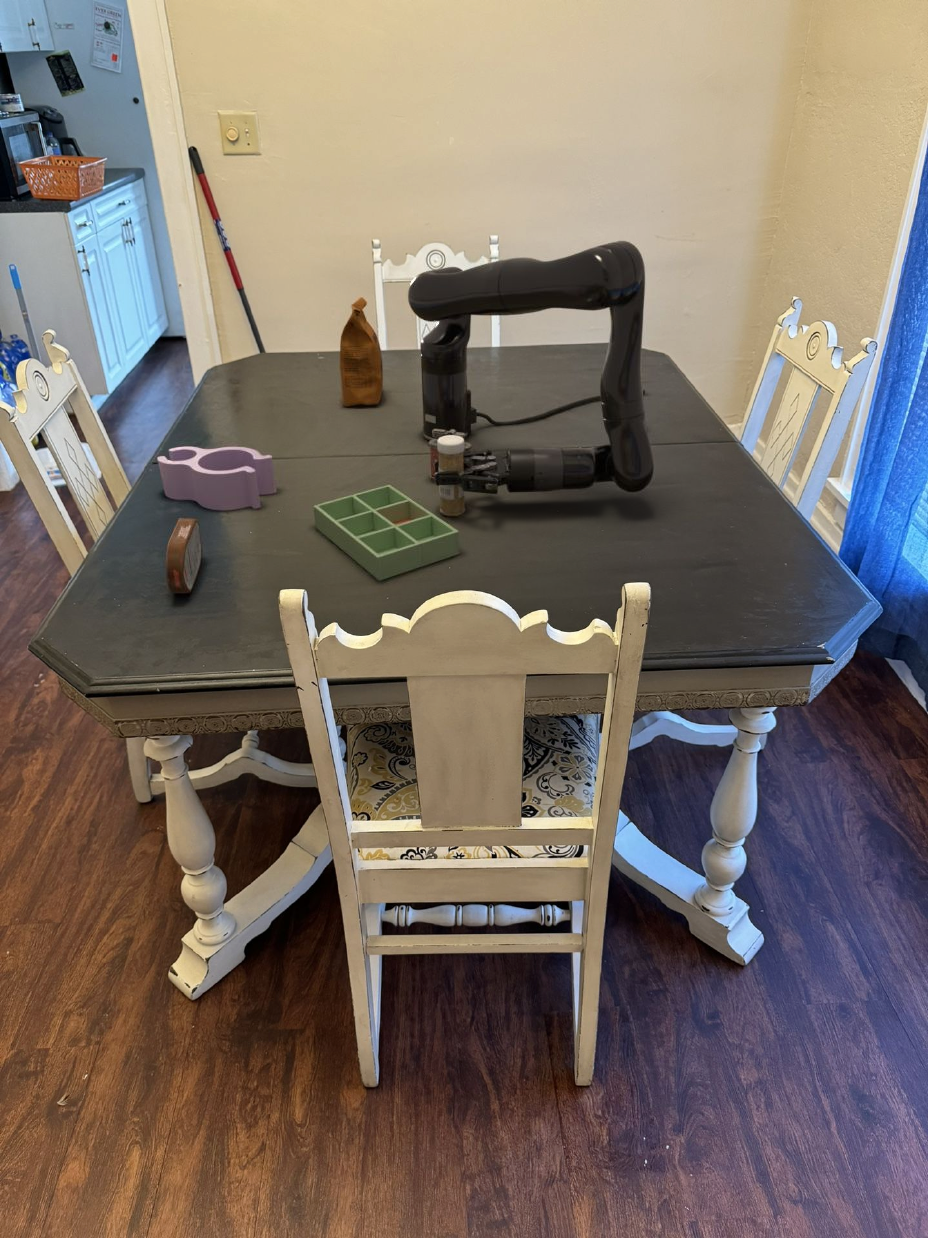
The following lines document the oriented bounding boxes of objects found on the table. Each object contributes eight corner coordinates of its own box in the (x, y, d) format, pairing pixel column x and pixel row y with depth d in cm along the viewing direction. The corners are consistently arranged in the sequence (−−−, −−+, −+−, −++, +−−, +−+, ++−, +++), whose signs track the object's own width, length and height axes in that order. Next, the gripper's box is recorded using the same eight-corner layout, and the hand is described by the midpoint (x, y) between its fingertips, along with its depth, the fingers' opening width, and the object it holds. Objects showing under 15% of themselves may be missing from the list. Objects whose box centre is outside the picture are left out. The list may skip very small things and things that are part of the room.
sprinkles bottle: (470, 513, 152) (469, 440, 145) (448, 519, 150) (446, 445, 143) (455, 503, 155) (454, 432, 148) (434, 510, 153) (431, 437, 146)
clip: (152, 502, 157) (144, 466, 153) (188, 474, 167) (181, 440, 163) (252, 514, 153) (246, 477, 149) (283, 485, 163) (278, 450, 159)
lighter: (473, 480, 164) (473, 429, 158) (467, 487, 161) (467, 436, 156) (433, 474, 166) (432, 424, 161) (427, 481, 164) (425, 431, 158)
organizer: (390, 505, 155) (389, 484, 153) (459, 553, 140) (458, 531, 138) (315, 527, 148) (313, 505, 146) (379, 580, 133) (377, 557, 131)
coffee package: (389, 391, 207) (384, 295, 195) (380, 409, 197) (374, 309, 185) (348, 390, 208) (340, 295, 196) (337, 408, 198) (328, 308, 186)
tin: (188, 555, 140) (178, 508, 136) (208, 554, 140) (199, 507, 136) (170, 605, 128) (158, 554, 123) (191, 603, 128) (181, 553, 123)
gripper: (530, 433, 153) (433, 436, 153) (540, 465, 141) (435, 468, 141) (529, 473, 157) (434, 475, 157) (538, 507, 145) (436, 510, 145)
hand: (435, 472), depth 149 cm, fingers closed on sprinkles bottle, 4 cm apart
